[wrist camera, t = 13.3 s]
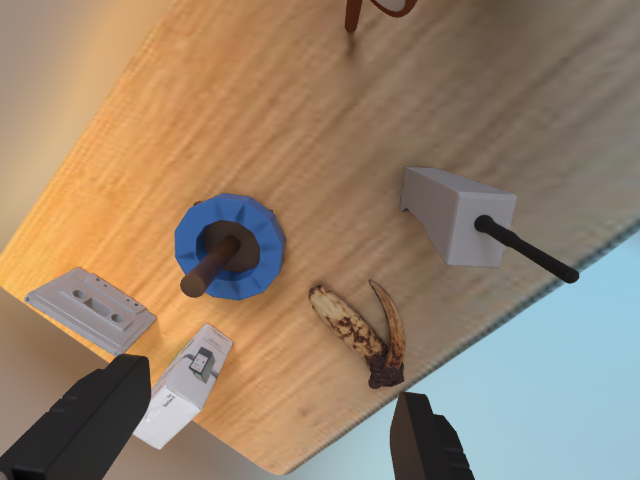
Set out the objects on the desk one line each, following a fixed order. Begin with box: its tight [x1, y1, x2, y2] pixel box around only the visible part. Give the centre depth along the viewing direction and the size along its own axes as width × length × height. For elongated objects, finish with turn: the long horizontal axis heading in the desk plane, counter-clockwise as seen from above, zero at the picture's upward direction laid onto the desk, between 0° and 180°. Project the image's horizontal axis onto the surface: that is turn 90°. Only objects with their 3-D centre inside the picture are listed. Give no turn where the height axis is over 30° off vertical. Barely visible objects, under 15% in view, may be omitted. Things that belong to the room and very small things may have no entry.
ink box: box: [133, 323, 233, 450], centre depth 40 cm, size 9×5×12 cm, turn 138°
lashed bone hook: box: [309, 280, 405, 389], centre depth 40 cm, size 9×5×18 cm
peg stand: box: [180, 201, 273, 298], centre depth 34 cm, size 9×9×12 cm
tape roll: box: [175, 193, 286, 300], centre depth 37 cm, size 12×12×3 cm
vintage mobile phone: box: [400, 167, 579, 284], centre depth 25 cm, size 4×5×25 cm
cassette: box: [24, 267, 156, 357], centre depth 39 cm, size 12×2×8 cm, turn 51°
